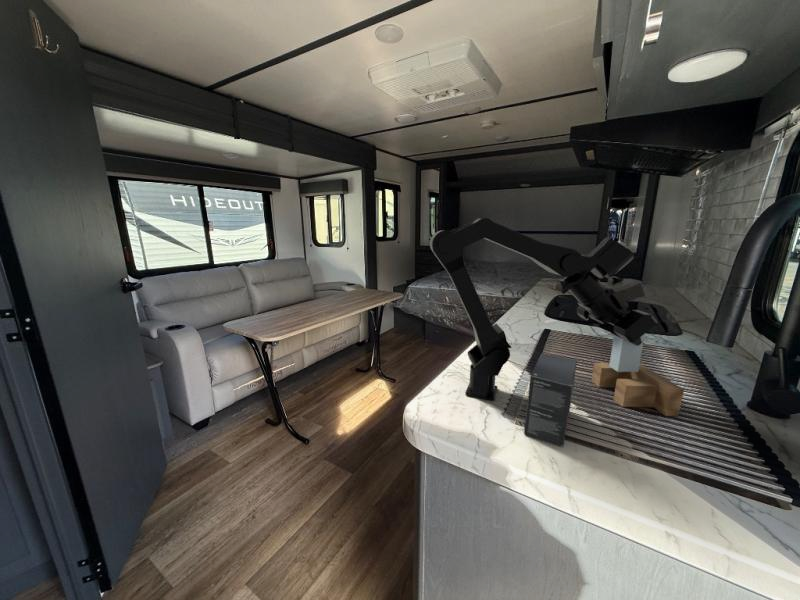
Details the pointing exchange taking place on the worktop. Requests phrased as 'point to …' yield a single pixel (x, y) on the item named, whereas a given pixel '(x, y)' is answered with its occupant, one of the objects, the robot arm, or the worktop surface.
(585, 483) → the worktop surface
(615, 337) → the post
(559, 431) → the small box
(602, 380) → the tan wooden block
